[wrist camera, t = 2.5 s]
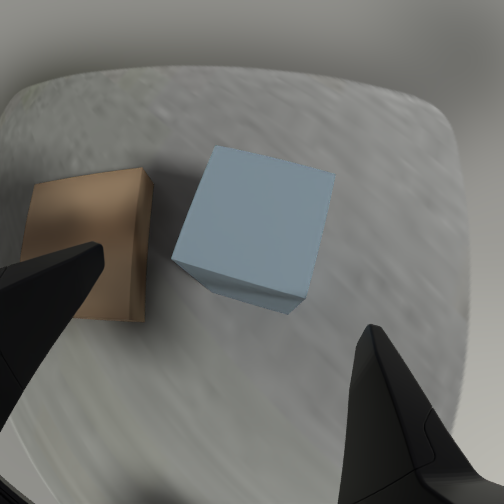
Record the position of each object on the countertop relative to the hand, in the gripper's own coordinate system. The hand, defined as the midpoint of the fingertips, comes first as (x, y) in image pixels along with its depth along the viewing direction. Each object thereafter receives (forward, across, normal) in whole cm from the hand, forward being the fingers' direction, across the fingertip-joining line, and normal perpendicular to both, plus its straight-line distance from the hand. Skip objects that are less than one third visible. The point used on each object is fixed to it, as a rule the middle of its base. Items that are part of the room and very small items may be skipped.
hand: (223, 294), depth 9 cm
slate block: (+10, 0, +5) cm, 11 cm away
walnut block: (+8, +12, +7) cm, 16 cm away
